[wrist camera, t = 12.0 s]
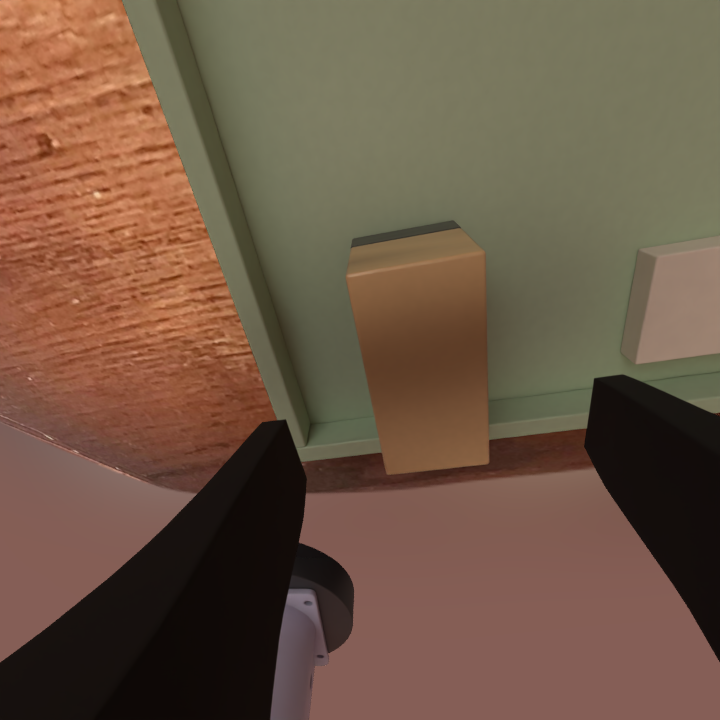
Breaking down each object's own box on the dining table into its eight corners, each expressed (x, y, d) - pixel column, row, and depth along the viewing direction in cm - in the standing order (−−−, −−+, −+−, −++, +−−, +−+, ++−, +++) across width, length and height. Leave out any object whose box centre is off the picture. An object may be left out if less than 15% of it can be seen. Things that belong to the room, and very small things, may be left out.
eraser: (464, 393, 16) (490, 465, 12) (383, 404, 16) (386, 476, 13) (454, 219, 12) (486, 249, 9) (351, 238, 13) (344, 275, 9)
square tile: (732, 336, 14) (756, 348, 13) (619, 352, 15) (634, 365, 14) (770, 226, 12) (800, 232, 11) (637, 248, 13) (657, 256, 12)
